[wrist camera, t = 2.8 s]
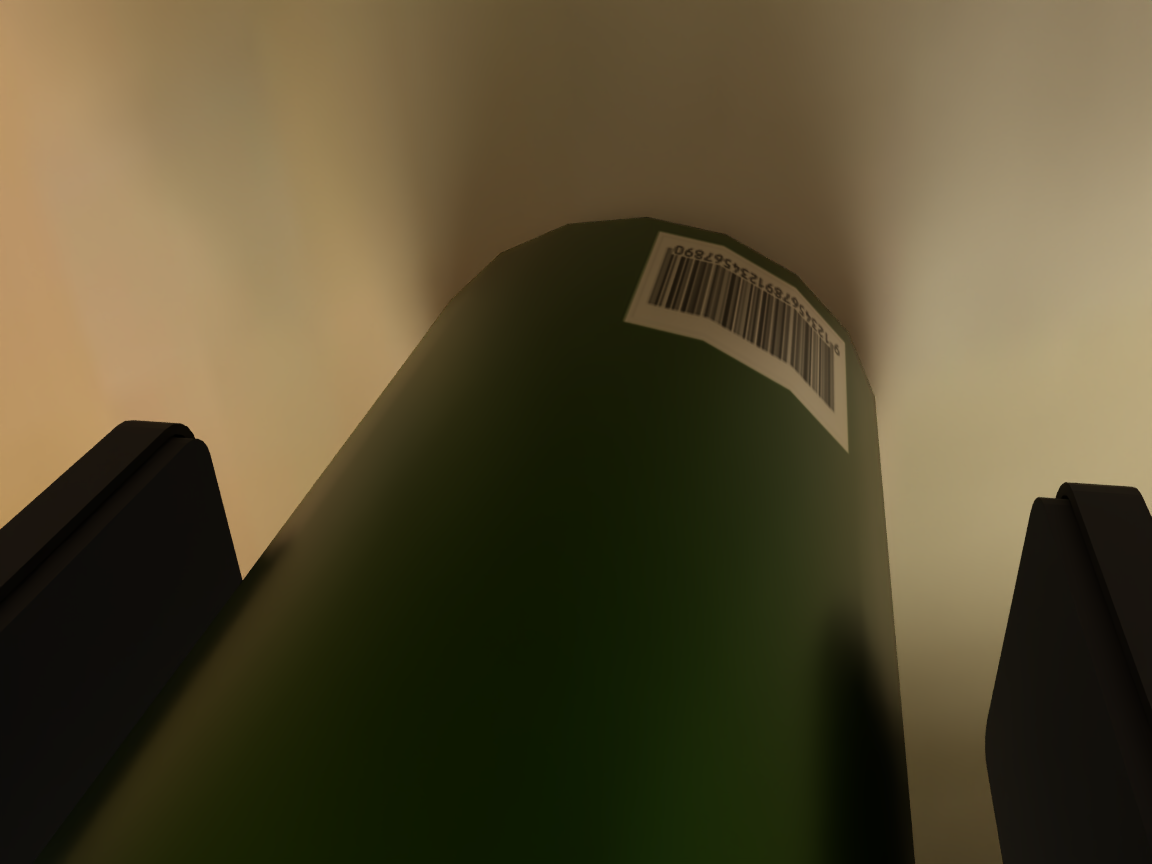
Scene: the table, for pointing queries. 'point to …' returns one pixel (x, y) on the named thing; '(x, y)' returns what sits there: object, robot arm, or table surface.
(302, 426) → the table surface
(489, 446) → the beer can
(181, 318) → the table surface
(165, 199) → the table surface
